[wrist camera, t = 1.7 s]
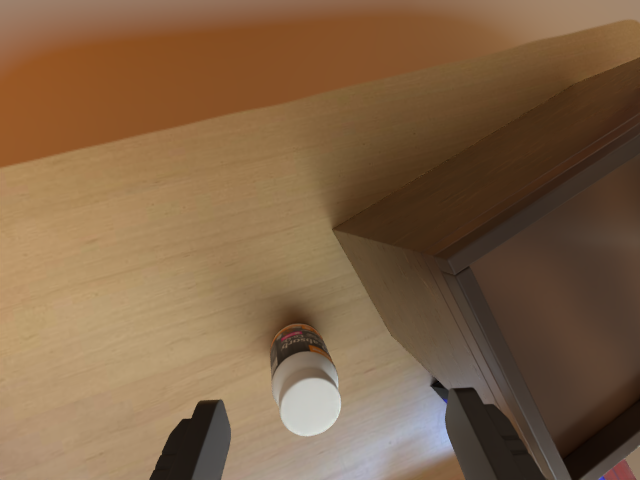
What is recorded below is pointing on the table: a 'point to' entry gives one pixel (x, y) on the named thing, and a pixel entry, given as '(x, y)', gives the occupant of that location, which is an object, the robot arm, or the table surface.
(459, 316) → the stand
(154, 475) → the robot arm
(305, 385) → the pill bottle
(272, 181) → the table surface
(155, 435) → the table surface
